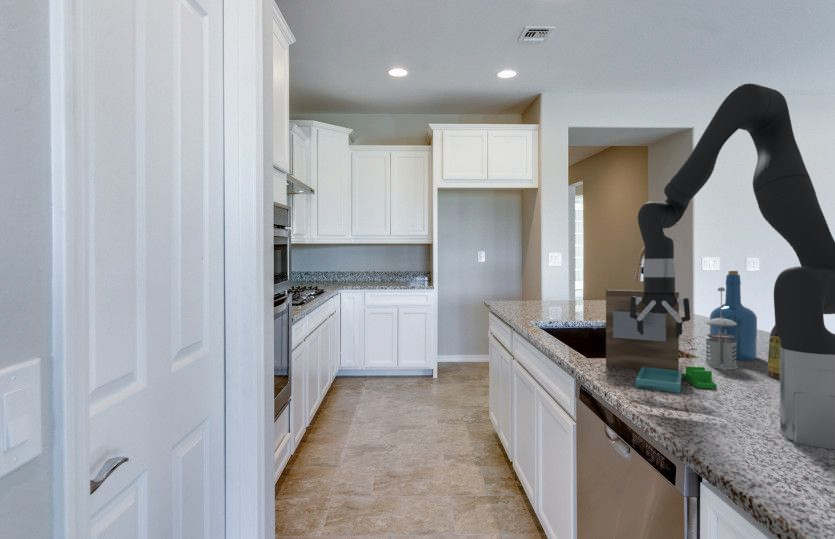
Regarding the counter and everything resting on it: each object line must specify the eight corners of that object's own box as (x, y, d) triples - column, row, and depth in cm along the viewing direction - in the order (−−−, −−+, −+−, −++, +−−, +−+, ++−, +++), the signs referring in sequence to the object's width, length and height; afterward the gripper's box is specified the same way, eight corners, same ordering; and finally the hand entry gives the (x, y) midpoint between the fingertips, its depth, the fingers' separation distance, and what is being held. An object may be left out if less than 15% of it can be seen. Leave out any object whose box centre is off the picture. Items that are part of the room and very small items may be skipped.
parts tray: (680, 393, 109) (680, 384, 109) (635, 387, 115) (635, 378, 115) (681, 378, 123) (681, 371, 123) (642, 374, 128) (642, 366, 128)
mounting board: (678, 373, 129) (678, 292, 129) (605, 365, 140) (606, 290, 140) (678, 371, 131) (678, 291, 131) (607, 363, 142) (607, 290, 141)
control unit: (665, 341, 126) (665, 309, 126) (613, 337, 133) (613, 307, 133) (666, 338, 131) (667, 307, 131) (616, 334, 138) (616, 305, 138)
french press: (738, 365, 139) (738, 286, 139) (742, 373, 129) (743, 288, 129) (701, 361, 144) (702, 286, 144) (703, 368, 134) (703, 287, 134)
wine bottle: (762, 364, 140) (763, 271, 140) (713, 360, 146) (713, 271, 145) (751, 356, 153) (751, 270, 152) (706, 353, 158) (706, 270, 158)
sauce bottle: (763, 376, 125) (763, 307, 125) (775, 374, 128) (775, 306, 127) (790, 382, 119) (790, 309, 119) (802, 379, 122) (802, 308, 122)
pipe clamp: (717, 374, 112) (697, 373, 113) (717, 388, 112) (697, 388, 113) (699, 364, 123) (681, 364, 124) (699, 377, 123) (681, 377, 124)
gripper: (628, 275, 119) (628, 335, 119) (689, 275, 112) (690, 339, 111) (631, 275, 126) (632, 332, 125) (690, 275, 118) (690, 335, 118)
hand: (659, 335), depth 118 cm, fingers open, 8 cm apart
